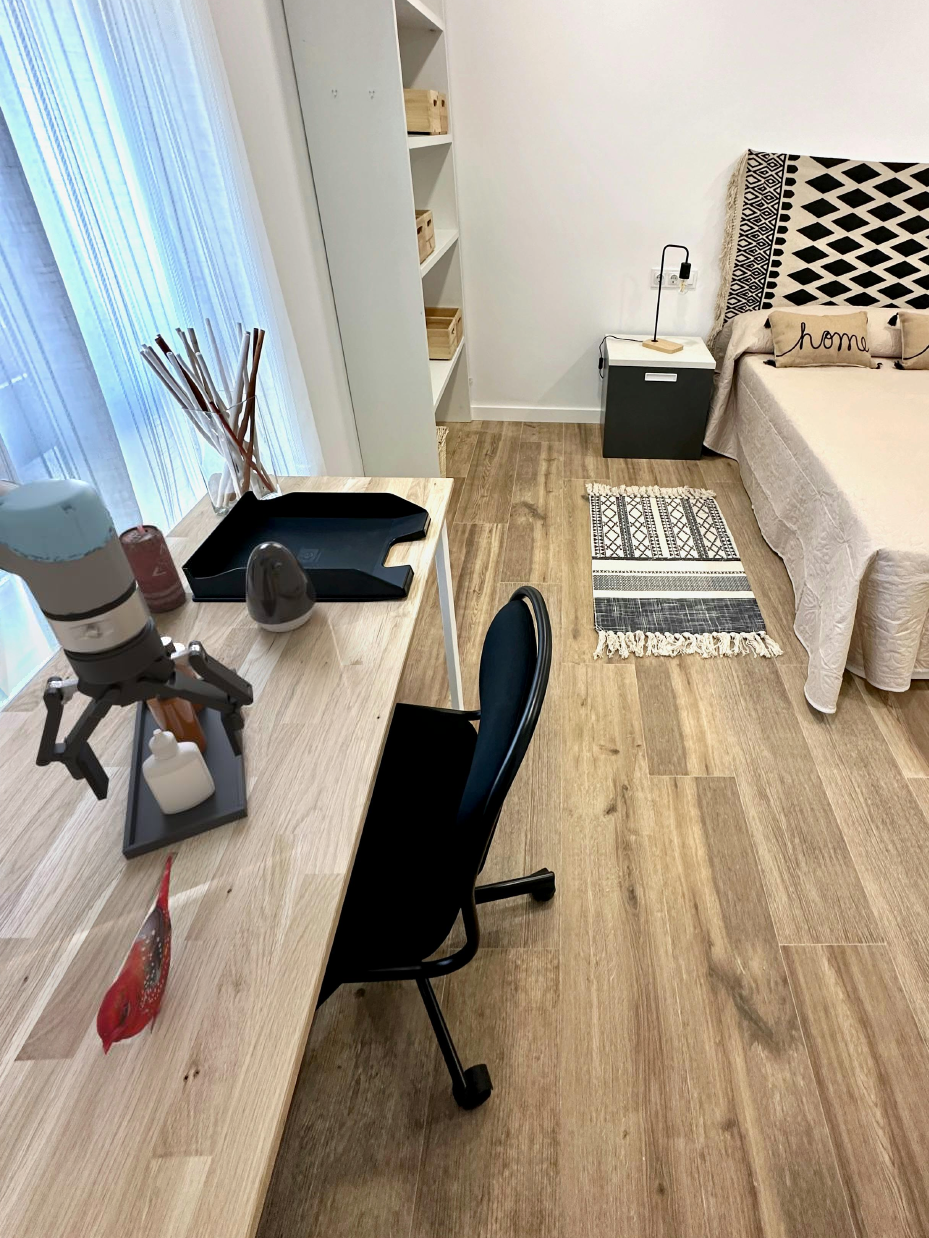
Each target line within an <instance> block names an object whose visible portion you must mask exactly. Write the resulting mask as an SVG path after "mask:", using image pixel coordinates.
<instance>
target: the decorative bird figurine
mask: <svg viewBox="0 0 929 1238" xmlns="http://www.w3.org/2000/svg"><path fill="white" fill-rule="evenodd" d="M171 868H172V856H171V855H168V857H167V859H166V861H165V865H164V870H163V872H162V878H161V882H160V886H159V891H158V895H157V898H156V902H155V905H154V908H153V909H152V911H151V912H150V914H149V915H148V916H147V918H146V920H145V921H144V923H143V925H142V926H141V928H140V929H139V930H140V931H139V932H138V934H137V936H136V938H135V939H134V942H133V944H132V946H131V948H130V950H129V952H128V954H127V958H126V959H125V962H124V964H123V966H122V969H121V971H120V972H119V975H118V977H117V979H116V980H115V981H114V982H113V983H112V985H111V986H110V987H109V988H108V990H107V991H106V993H105V995H104V996H103V1000H101V1002H100V1005H99V1008H98V1011H97V1015H96V1031H97V1034H98V1037H99V1039H100V1040H101V1042H102V1049H103V1053H104V1055H105V1056H107V1054H108V1052H109V1051H110V1048H111V1047H112V1045H113V1043H119V1042H121V1041H122V1040H128V1039H131V1038H133V1037H134V1036H137V1035H138V1034H140V1033H141V1032H142V1031H144V1029H145V1028H146V1027H147V1026H148V1025H149V1023H150V1022H151V1021H152V1022H151V1026H150V1034H151V1035H152V1034H153V1031H154V1029H155V1028H154V1027H155V1025H156V1021H157V1018H158V1016H159V1014H160V1013H161V1010H162V1007H163V1001H164V995H165V990H166V986H167V982H168V979H169V973H170V967H171V959H172V958H171V956H172V933H173V932H172V931H173V930H172V929H173V928H172V920H171V915H170V909H169V892H170V883H171V882H170V880H171V870H172V869H171Z"/></svg>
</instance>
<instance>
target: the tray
mask: <svg viewBox="0 0 929 1238" xmlns="http://www.w3.org/2000/svg"><path fill="white" fill-rule="evenodd" d="M229 669H230V670H231V671H233V672H234V673H236V674H237V675H238V672H237V670H236V667H233V668H229ZM198 680H201V681H204V682H207V683H209V684H211V683H210V682H208V681H207V680H205V679H204V678H202V677H201V676H199V677H198ZM212 685H213V684H212ZM136 703H137V704H136V712H135V722H134V732H133V743H132V753H131V763H130V772H129V773H130V774H129V783H128V793H127V803H126V810H125V812H126V813H125V820H124V821H125V822H124V832H123V843H122V852H121V853H122V855H123V857H124V858H125V859H126V861H130V860H133V859H136V858H138V857H141V856H144V855H147V854H149V853H153V852H155V851H157V850H161V849H163V848H166V847H168V846H172V845H174V844H176V843H180V842H183V841H185V840H187V839H190V838H194V837H195V836H198V835H202V834H204V833H207V832H209V831H212V830H215V829H218V828H220V827H223V826H226V825H229V824H231V823H234V822H236V821H239V820H242V819H245V818H248V817H249V813H248V812H249V811H248V799H247V785H246V772H245V758H244V744H243V742H244V741H243V729H241V730H238V731H239V734H240V736H241V745H242V755H239V756H236V757H235V755H234V752H233V750H232V747H231V745H230V742H229V739H228V737H227V734H226V732H225V729H224V727H223V724H222V722H221V715H220V711H217V710H214V709H211V708H208V707H205V706H204V708H203V709H202V710H200V711H199V712H198V713H196V716H197V719H198V721H199V723H200V726H201V728H202V730H203V733H204V735H205V737H206V740H207V747H206V749H205V750H204V751H203V753H202V754H201V755H202V757H203V759H204V762H205V764H206V766H207V768H208V771H209V773H210V775H211V777H212V780H213V783H214V787H215V790H214V793H213V794H212V795H211V796H210V797H208V798H207V799H206V800H204V801H203V802H201V803H200V804H198V805H196V806H194V807H192V808H190V809H188V810H185V811H182V812H178V813H174V814H165V813H164V812H163V811H162V809H161V808H160V806H159V804H158V802H157V800H156V798H155V796H154V794H153V793H152V791H151V789H150V787H149V785H148V783H147V781H146V779H145V777H144V774H143V767H142V766H143V763H144V762H145V761H146V760H147V759H148V758H149V757H150V756H151V755H153V753H152V751H151V749H150V747H149V742H150V740H151V739H152V738H153V737H154V733H153V732H154V731H155V730H156V729H159V727H158V724H157V722H156V720H155V718H154V716H153V714H152V712H151V710H150V708H149V706H148V704H147V700H145V701H137V702H136Z"/></svg>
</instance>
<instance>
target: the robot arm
mask: <svg viewBox="0 0 929 1238" xmlns="http://www.w3.org/2000/svg"><path fill="white" fill-rule="evenodd" d="M0 570H2V571H4V572H7V573H9V574H13V575H16V576H18V577H20V578H21V579H22V581H24V583H25V584H26V586H27V588H28V589H29V591H30V593H31V595H32V596H33V598H34V600H35V601H36V603H37V605H38V607H39V609H40V611H41V613H42V614H43V616H44V618H45V620H46V622H47V623H48V625H49V627H50V629H51V631H52V633H53V635H54V636H55V638H56V641H57V642H58V644H59V645H60V647H62V649H63V653H64V655H65V657H66V660H67V661H68V663H69V664H70V666H71V669H72V670H73V672H74V674H75V676H76V678H69V679H65V680H63V678H62V677H60V676H56V675H55V676H54V675H53V676H51V677H49V678H47V680H46V684H45V687H44V692H43V695H42V700H43V703H44V706H45V708H46V711H47V713H46V717H45V721H44V725H43V729H42V734H41V738H40V742H39V748H38V751H37V755H36V760H35V765H36V766H38V767H47V766H49V765H50V764H51V763H57V762H58V763H61V765H64V766H65V768H66V769H67V771H68V772H69V774H70V776H71V777H72V779H74V780H75V781H80V780H83V779H85V781H86V782H87V784H88V786H89V787H90V789H91V791H92V793H93V795H94V796H95V797H96V799H97V800H98V801H99V802H101V801H104V800H106V799H108V792H109V784H110V778H109V776H108V774H107V772H106V771H105V770H104V767H103V766H102V763H101V762H100V760H99V758H98V757H97V755H96V753H95V752H94V750H93V748H92V745H90V743H89V741H88V740H89V739H90V738H91V736H92V734H93V733H94V732H95V730H96V728H97V727H98V725H99V724H100V723H101V721H102V720H103V719H105V718H106V716H107V714H108V713H109V711H110V710H111V709H112V708H113V706H115V707H117V706H120V708H125V707H128V706H131V705H133V704H135V703H137V702H138V701H145V700H150V699H154V698H156V695H161V696H165V697H168V698H171V699H174V698H175V697H178V698H181V699H184V700H187V701H190V702H193V703H196V704H199V705H202V706H205V707H208V708H211V709H214V710H217V711H220V715H221V722H222V724H223V727H224V729H225V732H226V734H227V737H228V739H229V742H230V745H231V747H232V750H233V752H234V755H235V757H236V756H239V755H242V745H241V736H240V734H239V731H238V730H241V729H242V730H244V729H245V715H244V713H243V711H242V707H243V706H246V707H247V706H251V705H252V704H253V703H254V702H255V700H254V691H253V685H252V684H251V683H250V682H248V681H247V680H245V679H244V678H243V677H242V676H240V675H239V674H238V673H237V674H236V673H234V672H233V671H231V670H230V669H231V668H229V667H227V666H226V665H224V664H223V663H222V662H220V661H219V660H217V659H216V658H214V657H212V656H211V655H210V654H209V653H208V652H207V651H206V649H205V648H204V646H203V643H202V642H201V641H200V640H192V641H190V642H189V643H188V646H187V648H186V649H184V650H181V651H178V652H175V653H171V652H170V651H168V650H167V649H166V648H165V647H164V644H163V642H162V640H161V638H162V637H161V634H160V633H159V630H158V628H157V626H156V623H155V621H154V619H153V617H152V615H151V614H150V612H151V611H150V610H149V608H148V606H147V604H146V602H145V599H144V597H143V595H142V593H141V591H140V588H139V586H138V584H137V582H136V580H135V577H134V575H133V572H132V570H131V567H130V565H129V562H128V560H127V557H126V555H125V552H124V550H123V547H122V545H121V542H120V540H119V535H118V533H117V530H116V528H115V523H114V519H113V517H112V516H111V513H110V510H108V509H107V508H106V506H105V504H104V503H103V500H102V498H101V497H100V495H99V493H98V491H97V490H96V488H94V487H93V486H92V484H90V483H88V482H86V481H84V480H80V479H78V480H77V479H73V478H66V479H62V478H58V477H57V478H56V477H55V478H47V479H41V480H37V481H36V480H35V481H32V482H28V483H25V484H22V485H21V483H18V482H15V481H12V480H9V479H4V478H0ZM176 665H183V666H185V667H186V668H187V669H188V670H190V671H191V670H193V669H194V671H195V673H196V675H197V676H199V677H202V678H204V679H205V680H207V681H208V682H210V683H211V684H209V683H207V682H204V681H201V680H198V679H196V678H193V677H190V676H187V675H185V674H183V672H182V671H181V670H179V669H176V668H175V666H176ZM167 681H169V684H167ZM212 684H213V685H212ZM78 692H79V693H80V694H81V695H84V696H87V697H89V698H91V700H90V701H89V703H88V704H87V706H86V707H85V709H84V710H83V712H82V713H81V715H80V716H79V718H78V719H77V721H76V723H75V724H74V726H72V728H71V730H70V732H69V733H68V734H67V736H64V738H63V742H57V738H58V734H59V729H60V726H61V721H62V718H63V713H64V709H65V705H67V704H68V702H70V701H72V700H73V697H74V694H76V693H78Z"/></svg>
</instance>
